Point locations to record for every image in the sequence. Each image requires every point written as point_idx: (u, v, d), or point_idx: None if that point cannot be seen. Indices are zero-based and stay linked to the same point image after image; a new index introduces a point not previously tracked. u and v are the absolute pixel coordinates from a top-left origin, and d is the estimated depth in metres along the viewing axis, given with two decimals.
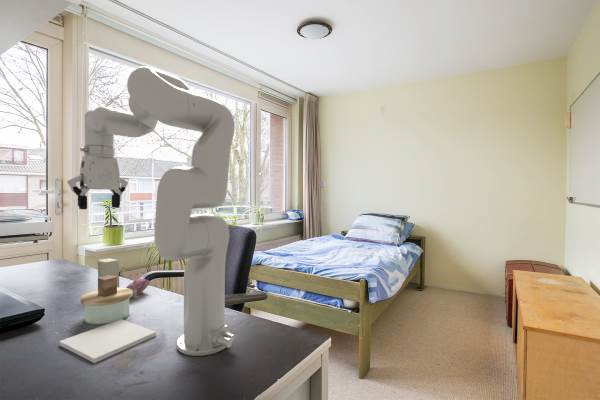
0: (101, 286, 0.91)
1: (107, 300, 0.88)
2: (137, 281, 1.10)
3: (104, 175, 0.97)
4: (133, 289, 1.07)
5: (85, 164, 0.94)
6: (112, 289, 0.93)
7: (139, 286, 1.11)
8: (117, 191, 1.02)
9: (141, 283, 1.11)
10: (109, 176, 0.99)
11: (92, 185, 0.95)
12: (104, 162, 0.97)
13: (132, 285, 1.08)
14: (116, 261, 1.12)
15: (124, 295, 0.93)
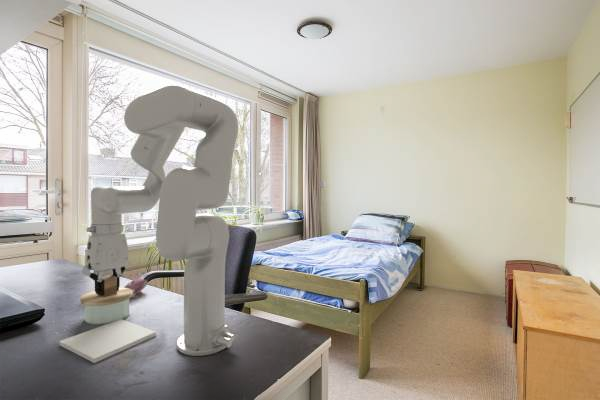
0: None
1: (107, 300, 0.88)
2: (135, 281, 1.10)
3: (112, 254, 0.91)
4: None
5: (92, 246, 0.88)
6: (112, 289, 0.93)
7: (137, 286, 1.11)
8: (118, 272, 0.94)
9: (139, 283, 1.11)
10: (117, 254, 0.93)
11: (99, 268, 0.88)
12: (112, 241, 0.91)
13: (130, 285, 1.08)
14: None
15: (124, 295, 0.93)
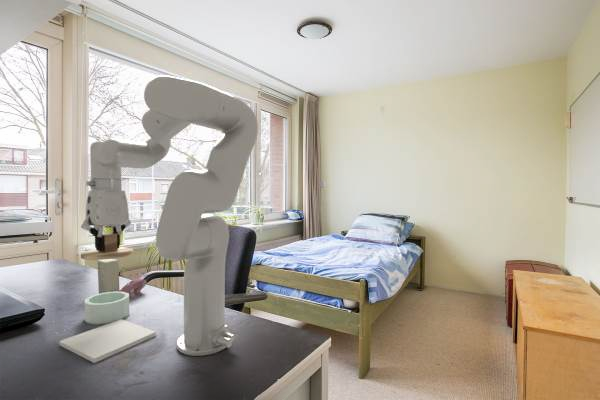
0: None
1: (107, 254, 0.88)
2: (134, 281, 1.10)
3: (112, 210, 0.91)
4: (130, 289, 1.07)
5: (92, 200, 0.87)
6: (112, 246, 0.92)
7: (136, 286, 1.11)
8: (118, 229, 0.94)
9: (138, 283, 1.11)
10: (117, 210, 0.92)
11: (99, 222, 0.88)
12: (112, 196, 0.91)
13: (129, 285, 1.08)
14: (116, 261, 1.12)
15: (124, 251, 0.92)
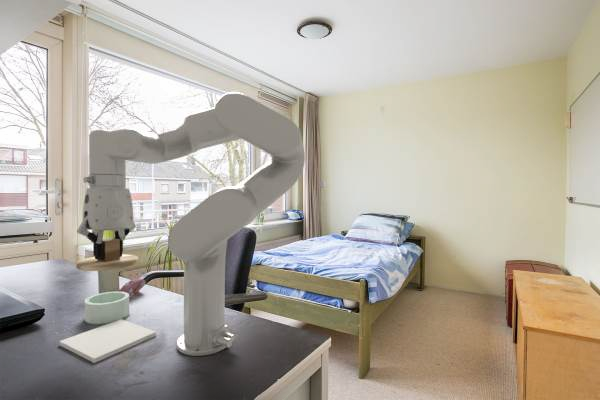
0: None
1: (108, 265, 0.73)
2: (133, 281, 1.10)
3: (114, 212, 0.76)
4: (129, 289, 1.07)
5: (90, 199, 0.73)
6: (114, 253, 0.78)
7: (135, 286, 1.11)
8: (121, 234, 0.80)
9: (137, 283, 1.11)
10: (120, 212, 0.78)
11: (99, 226, 0.74)
12: (114, 195, 0.76)
13: (128, 285, 1.08)
14: None
15: (128, 260, 0.78)
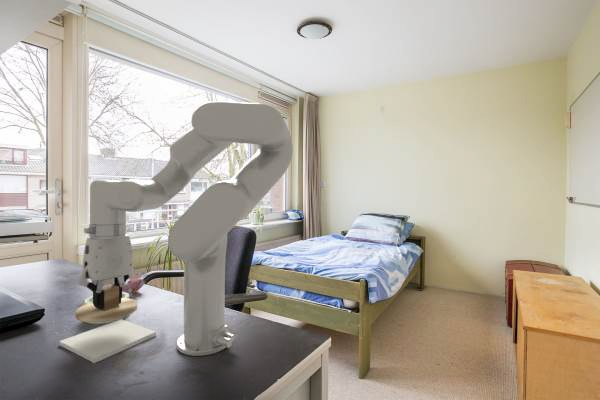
0: None
1: (107, 315, 0.74)
2: (132, 281, 1.10)
3: (114, 261, 0.77)
4: (128, 289, 1.07)
5: (90, 250, 0.73)
6: (113, 301, 0.78)
7: (134, 286, 1.11)
8: (120, 281, 0.80)
9: (136, 283, 1.11)
10: (120, 260, 0.78)
11: (99, 276, 0.74)
12: (114, 244, 0.77)
13: (127, 285, 1.08)
14: None
15: (127, 308, 0.78)
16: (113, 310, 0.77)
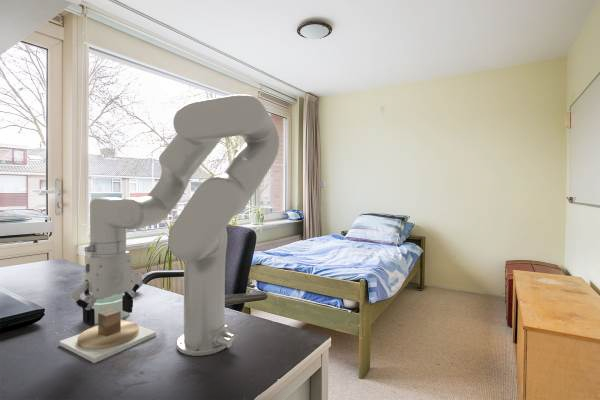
0: (102, 324, 0.77)
1: (109, 342, 0.74)
2: None
3: (114, 278, 0.77)
4: None
5: (91, 269, 0.74)
6: (115, 326, 0.79)
7: None
8: (129, 292, 0.82)
9: None
10: (121, 277, 0.78)
11: (100, 294, 0.74)
12: (115, 262, 0.77)
13: None
14: None
15: (129, 333, 0.78)
16: (115, 336, 0.77)
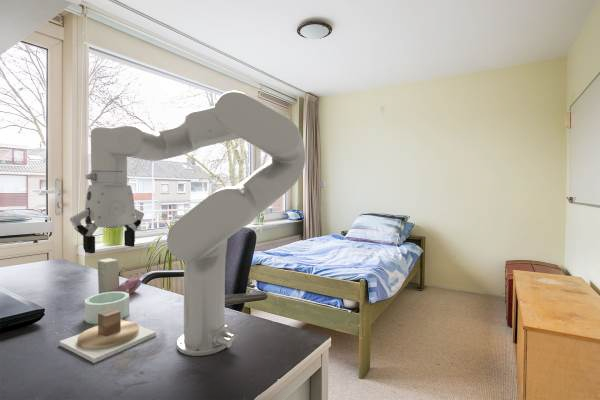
0: (102, 324, 0.77)
1: (109, 342, 0.74)
2: (129, 281, 1.10)
3: (116, 208, 0.77)
4: (125, 289, 1.08)
5: (92, 196, 0.73)
6: (115, 326, 0.79)
7: (131, 286, 1.11)
8: (131, 226, 0.82)
9: (133, 283, 1.11)
10: (122, 209, 0.78)
11: (101, 222, 0.74)
12: (116, 192, 0.77)
13: (124, 285, 1.08)
14: (116, 261, 1.12)
15: (129, 333, 0.78)
16: (115, 336, 0.77)
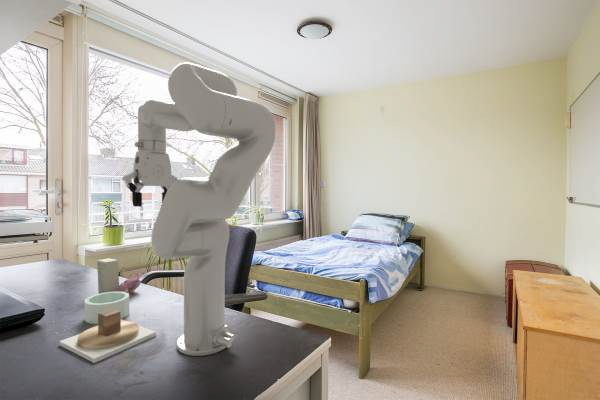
0: (102, 324, 0.77)
1: (109, 341, 0.74)
2: (128, 281, 1.10)
3: (158, 171, 0.94)
4: (124, 288, 1.08)
5: (140, 160, 0.91)
6: (115, 326, 0.79)
7: (130, 285, 1.11)
8: (168, 188, 0.99)
9: (132, 282, 1.11)
10: (162, 172, 0.96)
11: (147, 181, 0.91)
12: (158, 158, 0.94)
13: (123, 285, 1.08)
14: (116, 261, 1.12)
15: (129, 333, 0.78)
16: (115, 336, 0.77)
